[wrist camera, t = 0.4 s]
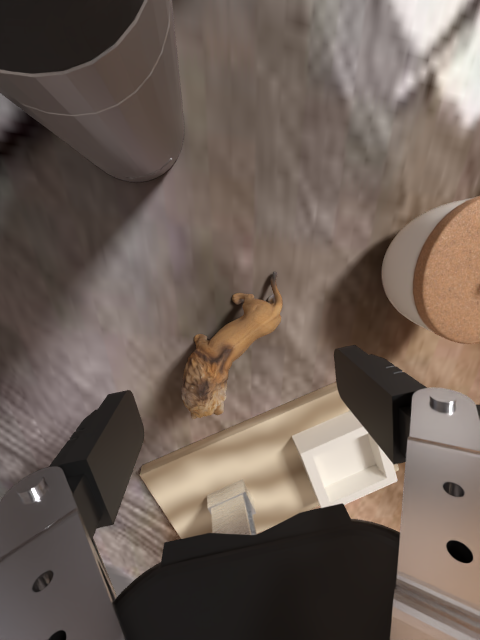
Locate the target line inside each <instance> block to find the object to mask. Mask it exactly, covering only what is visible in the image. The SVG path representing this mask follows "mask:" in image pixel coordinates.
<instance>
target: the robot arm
mask: <svg viewBox="0 0 480 640" xmlns="http://www.w3.org/2000/svg"><path fill="white" fill-rule="evenodd" d="M0 93H1V94H2V95H4V96H5V97H6V98H8V99H9V100H10V101H12V102H13V103H14V104H16V105H17V106H18V107H20V108H21V109H22V110H24V111H25V112H26V113H27V114H29V115H30V116H31V117H33V118H34V119H35V120H37V121H38V122H39V123H41V124H42V125H43V126H45V127H46V128H47V129H49V130H50V131H51V132H53V133H54V134H55V135H57V136H58V137H59V138H61V139H62V140H63V141H64V142H66V143H67V144H68V145H70V146H71V147H72V148H74V149H75V150H76V151H78V152H79V153H80V154H82V155H83V156H84V157H85V158H87V159H88V160H89V161H91V162H92V163H93V164H95V165H96V166H97V167H99V168H100V169H102V170H103V171H105V172H106V173H108V174H109V175H111V176H113V177H116V178H118V179H120V180H125V181H130V182H145V181H148V180H152V179H155V178H157V177H159V176H161V175H162V174H164V173H165V172H166V171H167V170H168V169H170V168H171V167H172V165H173V164H174V162H175V161H176V160H177V158H178V156H179V153H180V151H181V149H182V145H183V140H184V116H183V105H182V94H181V84H180V75H179V65H178V55H177V45H176V36H175V26H174V16H173V7H172V0H0ZM334 360H335V372H336V383H337V389H338V393H339V395H340V397H341V399H342V401H343V402H344V403H345V405H346V406H347V407H348V408H349V410H350V411H351V412H352V413H353V415H354V416H355V417H356V418H357V419H358V421H359V422H360V423H361V424H362V426H363V427H364V428H365V429H366V431H367V432H368V433H369V434H370V436H371V437H372V438H373V439H374V441H375V442H376V443H377V444H378V446H379V447H380V448H381V449H382V451H383V452H384V453H385V454H386V456H387V457H388V458H389V459H390V461H391V462H392V463H393V464H398V463H403V462H406V465H405V478H404V491H403V504H402V516H401V529H400V532H398V531H396V530H393V529H391V528H388V527H386V526H383V525H380V524H377V523H373V522H370V521H364V520H358V519H350V517H349V515H348V512H347V510H346V508H345V506H344V504H343V503H341V504H337V505H332V506H328V507H323V508H319V509H314V510H310V511H305V512H301V513H298V514H296V515H294V516H293V517H291V518H289V519H287V520H285V521H283V522H281V523H279V524H277V525H275V526H273V527H271V528H269V529H268V530H266V531H264V532H262V533H260V534H256V535H242V534H222V533H206V534H202V535H197V536H193V537H188V538H184V539H179V540H175V541H170V542H166V543H164V549H163V555H162V561H161V562H160V563H158V564H156V565H155V566H153V567H152V568H150V569H149V570H147V571H146V572H144V573H143V574H142V575H140V576H139V577H138V578H137V579H135V580H134V581H133V582H132V583H131V584H130V585H129V586H128V587H127V588H126V589H124V591H122V592H121V594H120V595H119V596H118V597H117V596H116V593H115V591H114V588H113V586H112V583H111V581H110V578H109V576H108V573H107V571H106V568H105V566H104V563H103V561H102V558H101V556H100V553H99V551H98V548H97V546H96V543H95V541H94V539H93V536H94V533H95V531H96V528H100V527H104V526H109V525H113V524H114V521H115V519H116V516H117V513H118V510H119V507H120V505H121V502H122V499H123V496H124V494H125V491H126V488H127V485H128V482H129V480H130V477H131V474H132V471H133V468H134V466H135V463H136V460H137V457H138V454H139V452H140V449H141V446H142V443H143V440H144V428H143V423H142V420H141V417H140V414H139V411H138V408H137V405H136V402H135V399H134V396H133V394H132V392H131V391H130V390H127V391H122V392H117V393H112V394H109V395H107V397H106V398H105V400H104V401H103V403H102V404H101V405H100V407H99V408H98V410H95V411H94V412H92V413H91V414H90V415H89V416H88V417H86V418H85V419H84V420H83V421H82V423H81V424H80V425H79V427H78V428H77V429H76V432H74V433H73V435H72V436H71V438H70V440H69V441H68V442H67V443H66V444H65V446H64V447H63V448H62V450H61V451H60V452H59V454H58V455H57V457H56V458H55V459H54V461H53V462H52V463H51V465H50V466H49V467H47V468H44V469H41V470H38V471H36V472H34V473H32V474H30V475H28V476H26V477H25V478H23V479H22V480H20V481H19V482H18V483H16V484H15V485H14V486H13V487H12V488H11V489H10V490H9V491H8V492H7V493H6V494H5V495H4V496H3V498H2V499H1V501H0V640H480V405H475V403H474V402H473V401H472V400H471V399H470V398H469V397H467V396H466V395H464V394H462V393H459V392H456V391H453V390H449V389H444V388H427V387H425V386H424V385H422V384H421V383H419V382H418V381H416V380H415V379H414V378H412V377H411V376H409V375H408V374H406V373H405V372H402V370H400V369H399V368H398V367H395V366H394V365H393V364H392V363H390V362H389V361H387V360H386V359H384V358H381V357H378V356H375V355H372V354H371V355H368V354H367V353H365V352H364V351H363V350H361V349H360V348H359V347H357V346H356V345H352V346H347V347H343V348H338V349H335V351H334Z"/></svg>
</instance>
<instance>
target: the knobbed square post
mask: <svg viewBox="0 0 480 640" xmlns="http://www.w3.org/2000/svg"><path fill="white" fill-rule="evenodd" d="M207 506H208V510H209V512H210V513H211V515H212V533H222V534H242V535H256V534H257V531H256V527H255V522H254V517H253V515H254V514H256V510H255V506H254V501H253V499H252V497H251V495H250V493H249V491H248V489H247V487H246V485H245V483H244V481H243V479H242V480H240V481H238V482H236V483H233V484H231V485H229V486H227V487H224V488H222V489H220V490H217V491H215V492H213V493H211V494H208V495H207Z"/></svg>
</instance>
